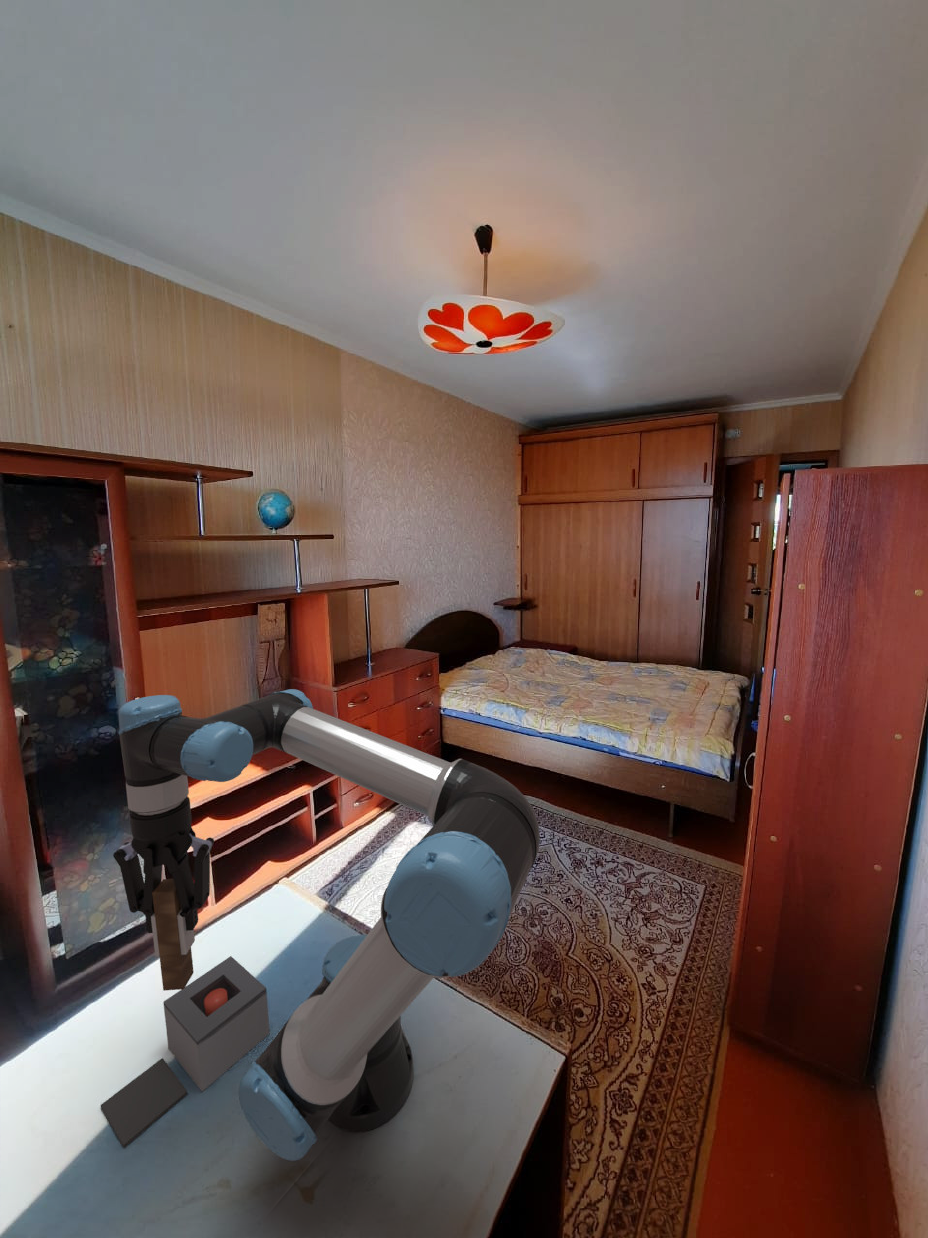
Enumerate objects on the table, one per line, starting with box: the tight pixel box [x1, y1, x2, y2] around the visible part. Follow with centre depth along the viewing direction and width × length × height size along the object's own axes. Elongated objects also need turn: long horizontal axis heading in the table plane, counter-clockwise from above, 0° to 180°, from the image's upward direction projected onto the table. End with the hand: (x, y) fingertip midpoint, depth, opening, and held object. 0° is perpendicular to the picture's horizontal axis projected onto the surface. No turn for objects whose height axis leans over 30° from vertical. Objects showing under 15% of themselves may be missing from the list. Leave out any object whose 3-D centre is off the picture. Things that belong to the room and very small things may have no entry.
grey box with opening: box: [162, 955, 271, 1092], centre depth 87 cm, size 12×12×9 cm
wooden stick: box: [152, 878, 194, 991], centre depth 75 cm, size 3×3×16 cm
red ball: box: [204, 988, 228, 1017], centre depth 87 cm, size 4×4×4 cm
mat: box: [100, 1057, 189, 1149], centre depth 78 cm, size 9×9×1 cm
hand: (175, 948), depth 75 cm, fingers closed on wooden stick, 3 cm apart
